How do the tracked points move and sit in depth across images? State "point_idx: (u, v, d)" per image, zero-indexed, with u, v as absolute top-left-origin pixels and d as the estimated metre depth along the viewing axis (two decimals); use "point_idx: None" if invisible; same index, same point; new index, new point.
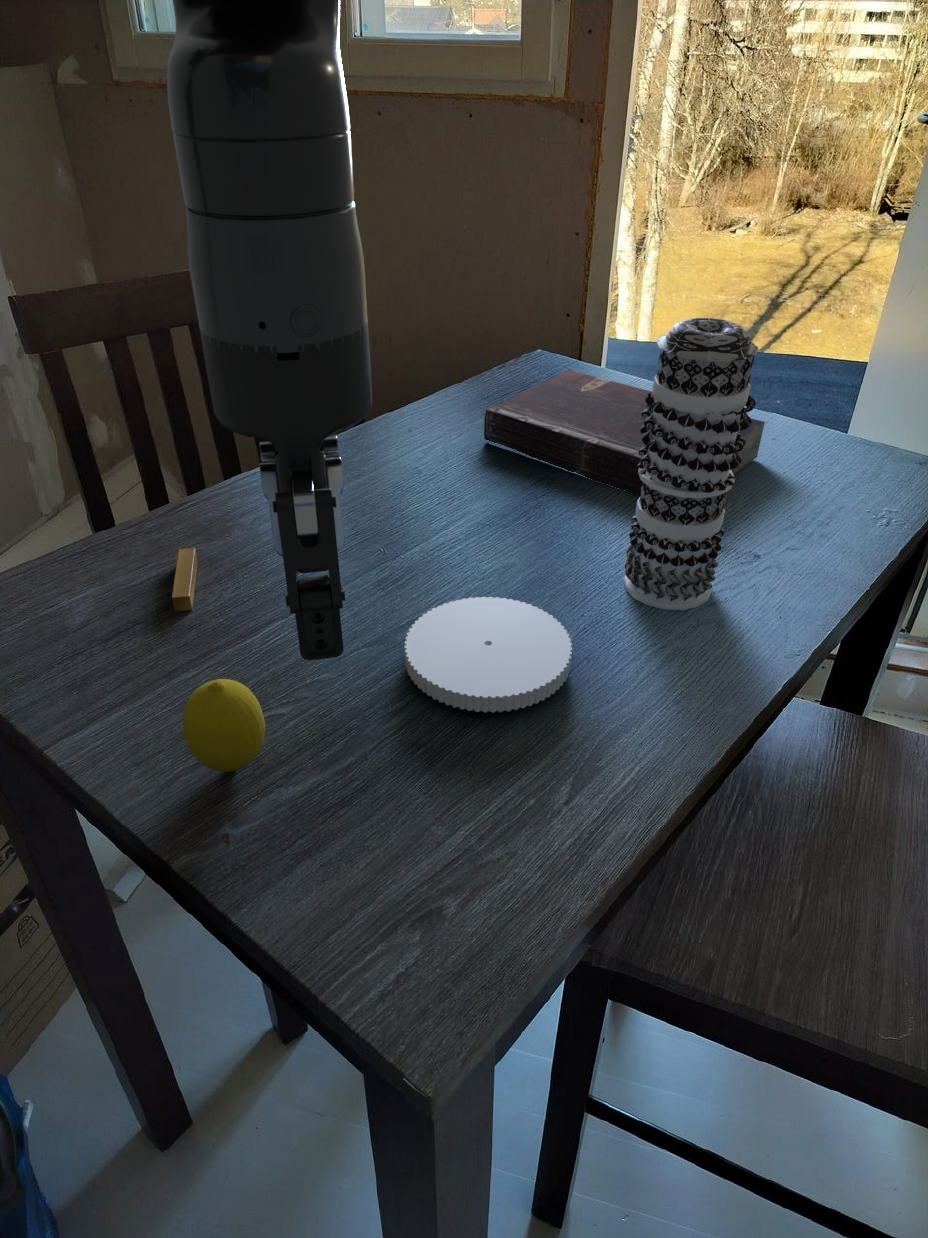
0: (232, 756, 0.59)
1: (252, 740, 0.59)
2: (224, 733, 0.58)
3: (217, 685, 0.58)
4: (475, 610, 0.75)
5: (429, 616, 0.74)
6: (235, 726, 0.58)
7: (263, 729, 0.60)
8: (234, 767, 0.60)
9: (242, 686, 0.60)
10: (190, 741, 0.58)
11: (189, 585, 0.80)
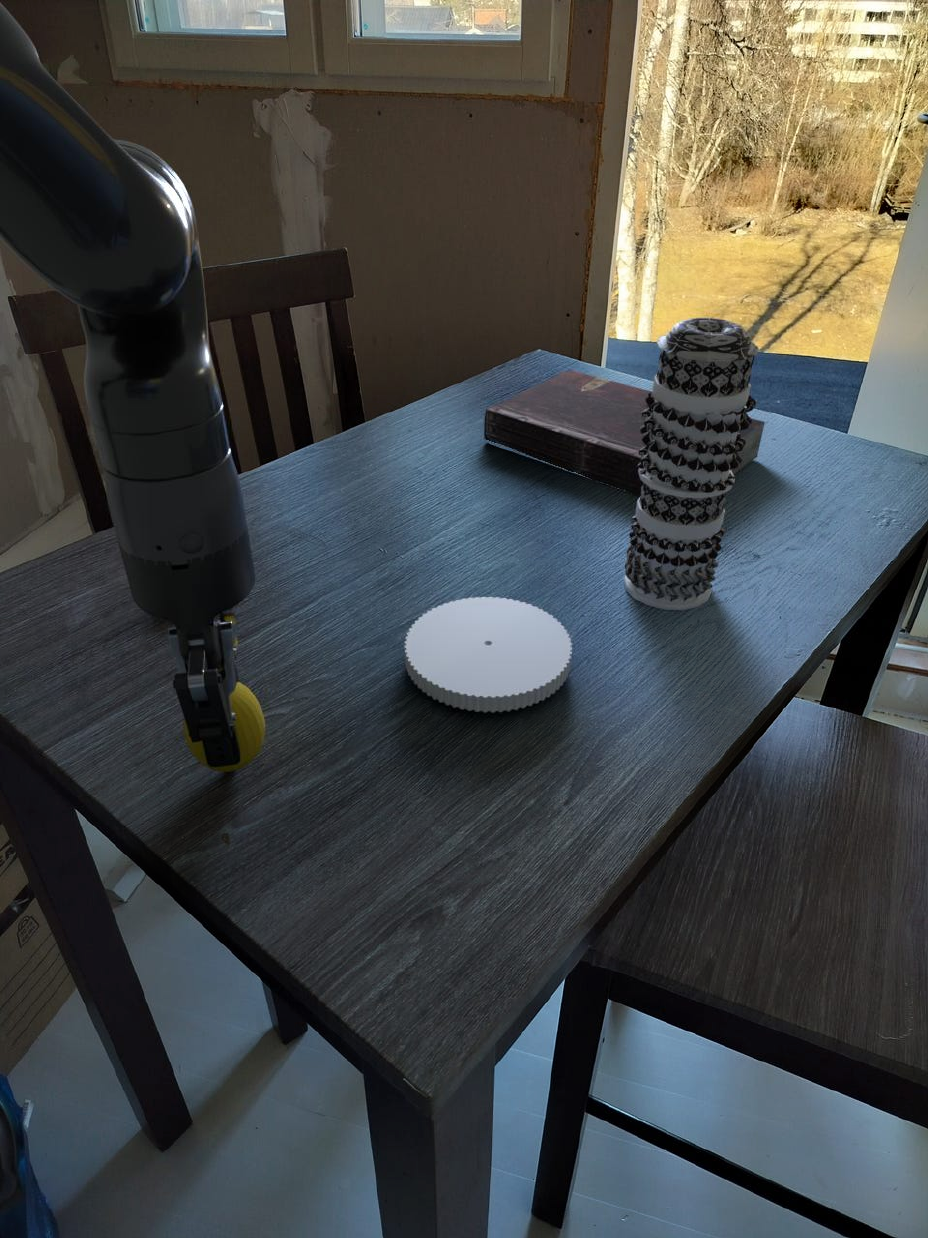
0: None
1: (252, 740, 0.59)
2: None
3: None
4: (475, 610, 0.75)
5: (429, 616, 0.74)
6: (235, 726, 0.58)
7: (263, 729, 0.60)
8: (234, 767, 0.60)
9: (242, 686, 0.60)
10: (190, 741, 0.58)
11: None
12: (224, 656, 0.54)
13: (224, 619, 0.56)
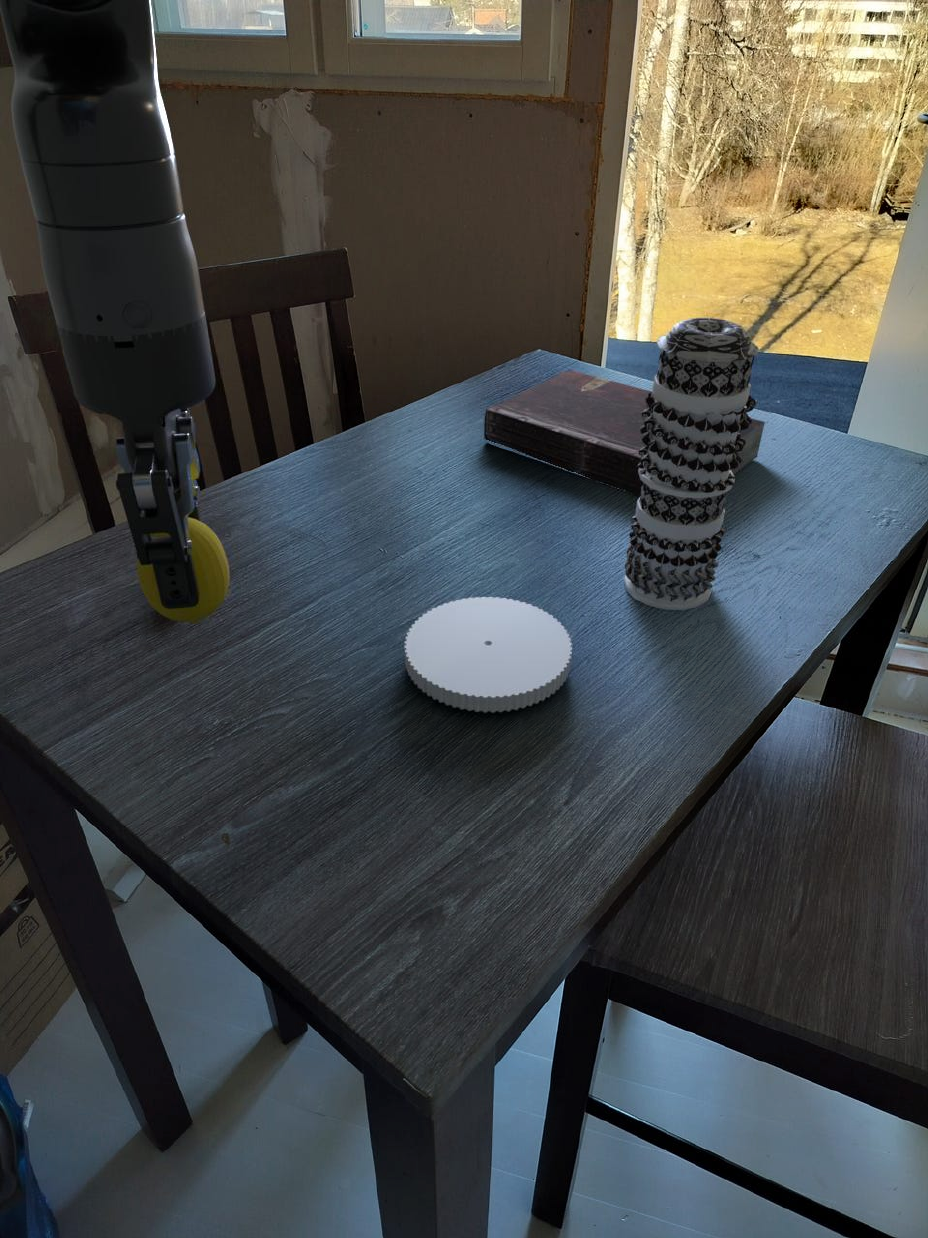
0: None
1: (214, 583, 0.53)
2: None
3: None
4: (475, 610, 0.75)
5: (429, 616, 0.74)
6: (194, 563, 0.52)
7: (227, 575, 0.54)
8: (193, 614, 0.54)
9: (203, 524, 0.54)
10: (144, 581, 0.52)
11: None
12: (179, 471, 0.48)
13: None
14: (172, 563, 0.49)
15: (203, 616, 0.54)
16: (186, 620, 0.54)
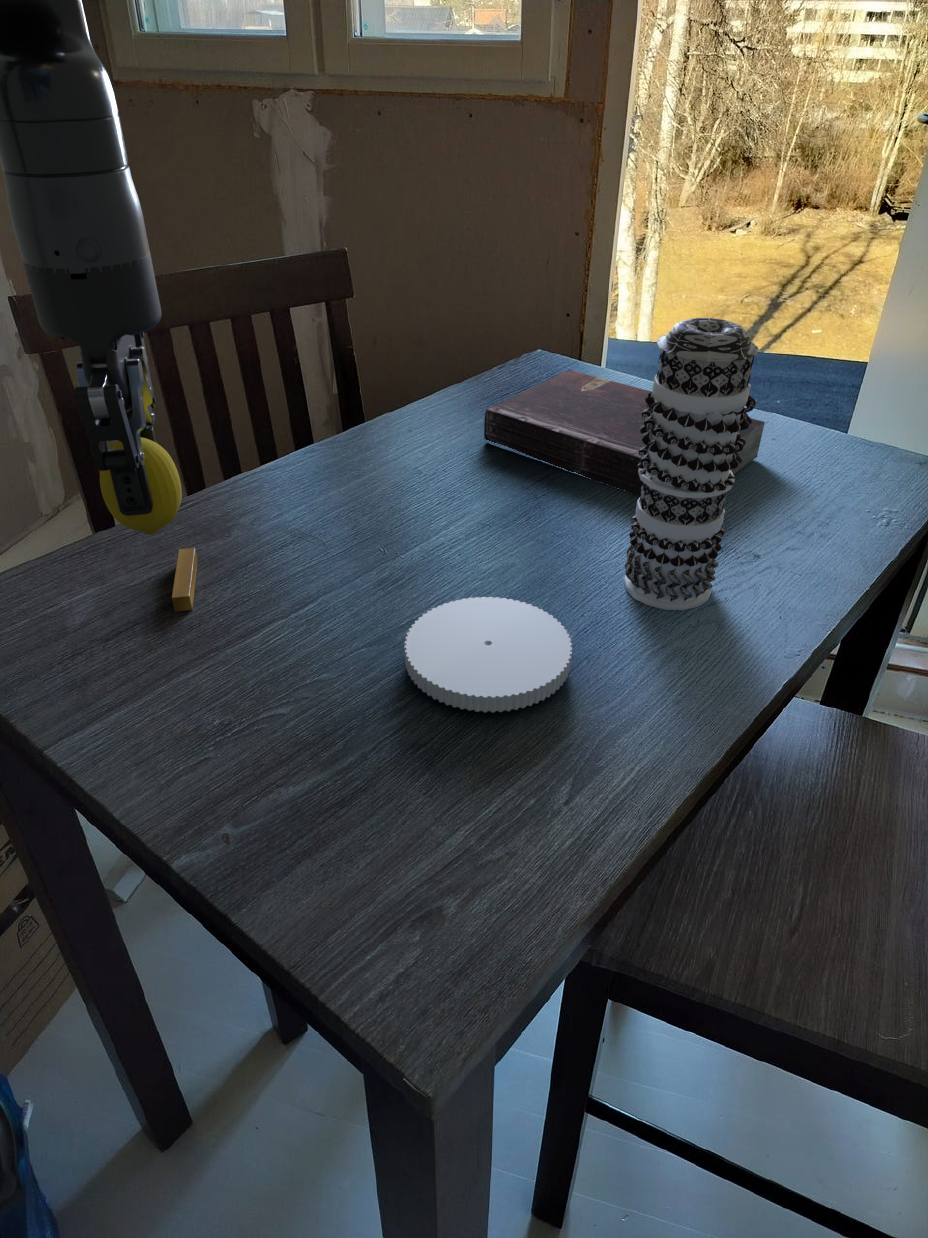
0: None
1: (166, 495, 0.61)
2: None
3: None
4: (475, 610, 0.75)
5: (429, 616, 0.74)
6: (148, 475, 0.60)
7: (178, 489, 0.62)
8: (149, 522, 0.62)
9: (157, 444, 0.62)
10: (105, 492, 0.60)
11: (189, 585, 0.80)
12: (131, 391, 0.56)
13: None
14: (127, 472, 0.57)
15: (158, 525, 0.63)
16: (143, 528, 0.62)
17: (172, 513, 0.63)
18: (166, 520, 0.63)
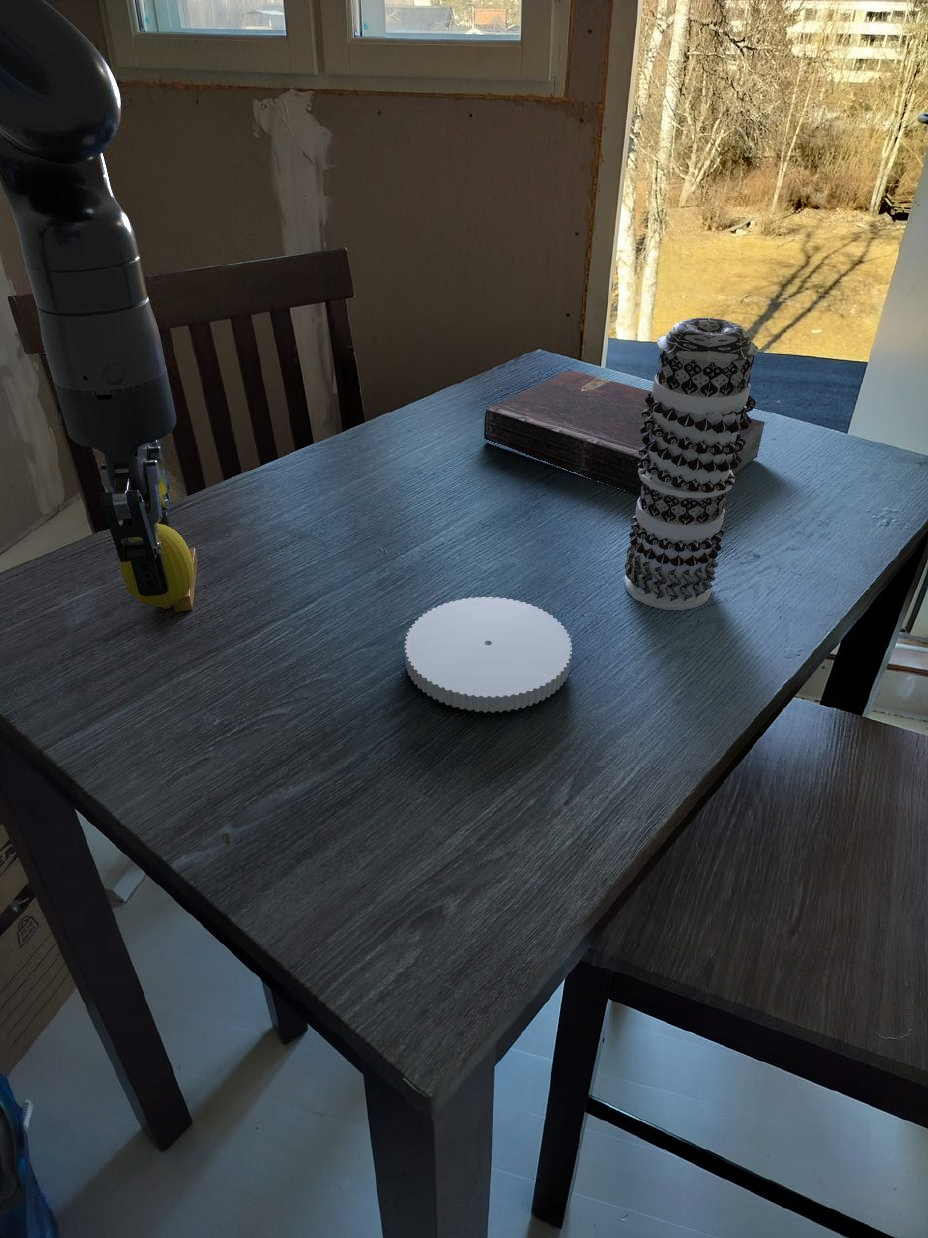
0: None
1: (180, 575, 0.68)
2: None
3: None
4: (475, 610, 0.75)
5: (429, 616, 0.74)
6: (164, 560, 0.66)
7: (191, 569, 0.69)
8: (165, 600, 0.68)
9: (171, 529, 0.68)
10: (125, 574, 0.67)
11: None
12: (149, 489, 0.62)
13: None
14: (145, 560, 0.64)
15: (173, 602, 0.69)
16: (159, 605, 0.69)
17: (185, 591, 0.69)
18: (180, 597, 0.69)
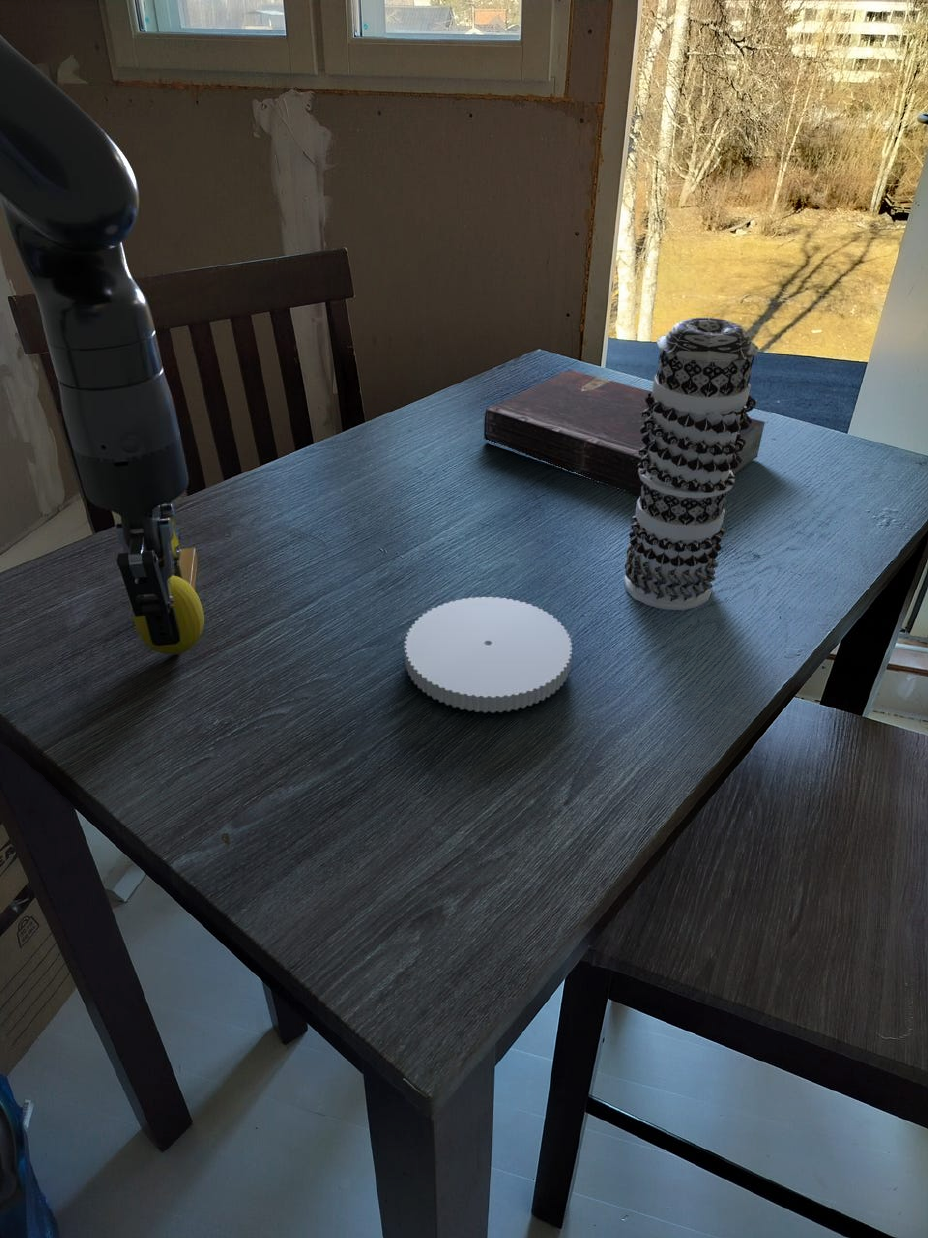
0: None
1: (191, 625, 0.70)
2: None
3: None
4: (475, 610, 0.75)
5: (429, 616, 0.74)
6: (176, 611, 0.69)
7: (201, 618, 0.72)
8: (176, 648, 0.71)
9: (183, 580, 0.71)
10: (139, 624, 0.70)
11: None
12: (163, 546, 0.65)
13: None
14: (159, 613, 0.67)
15: (184, 649, 0.72)
16: (171, 653, 0.71)
17: (196, 639, 0.72)
18: (191, 645, 0.72)
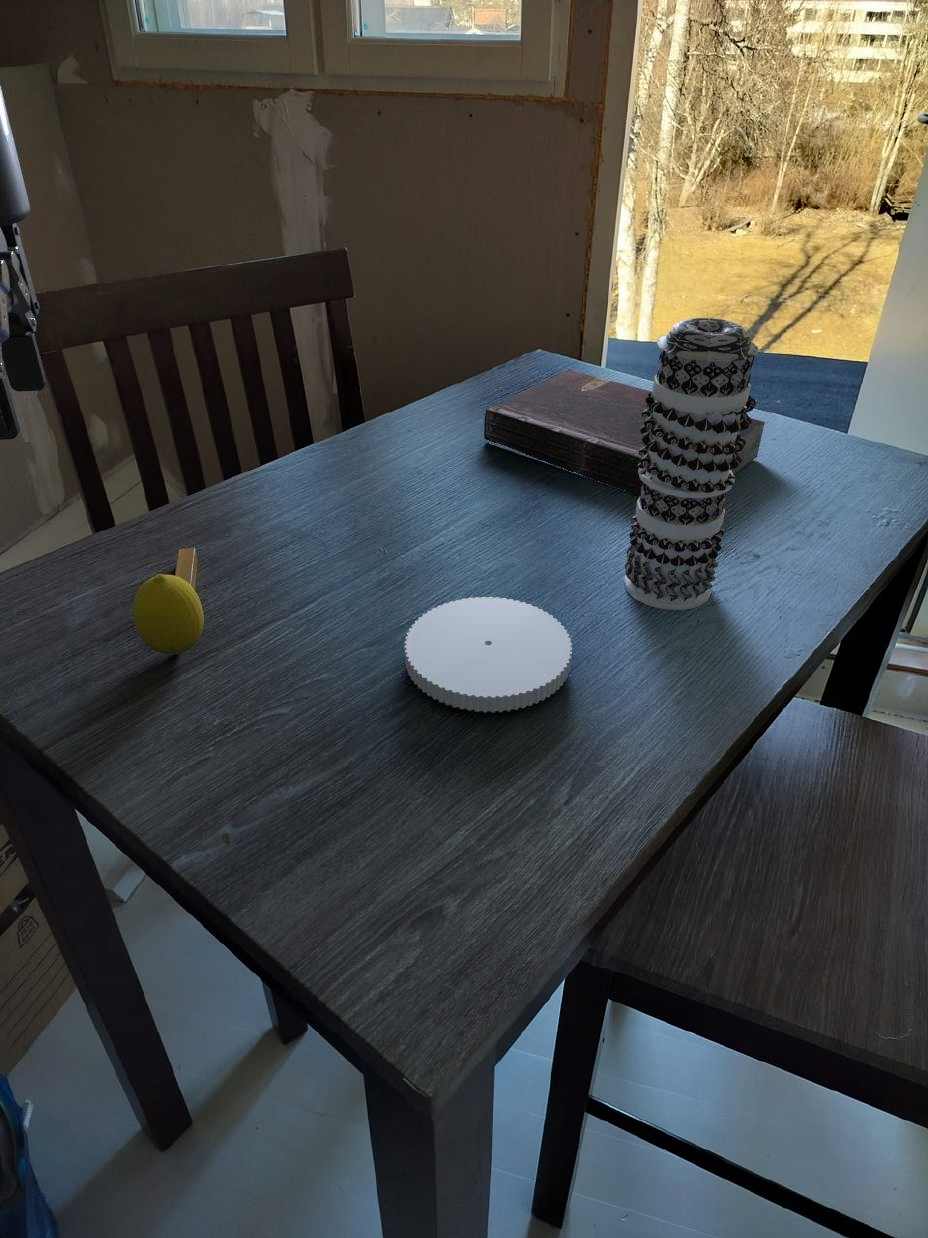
0: (174, 638, 0.70)
1: (191, 625, 0.70)
2: (166, 616, 0.69)
3: (161, 577, 0.69)
4: (475, 610, 0.75)
5: (429, 616, 0.74)
6: (176, 611, 0.69)
7: (201, 618, 0.72)
8: (176, 648, 0.71)
9: (183, 580, 0.71)
10: (138, 624, 0.70)
11: None
12: None
13: None
14: None
15: (184, 649, 0.72)
16: (171, 653, 0.71)
17: (196, 638, 0.72)
18: (191, 645, 0.72)
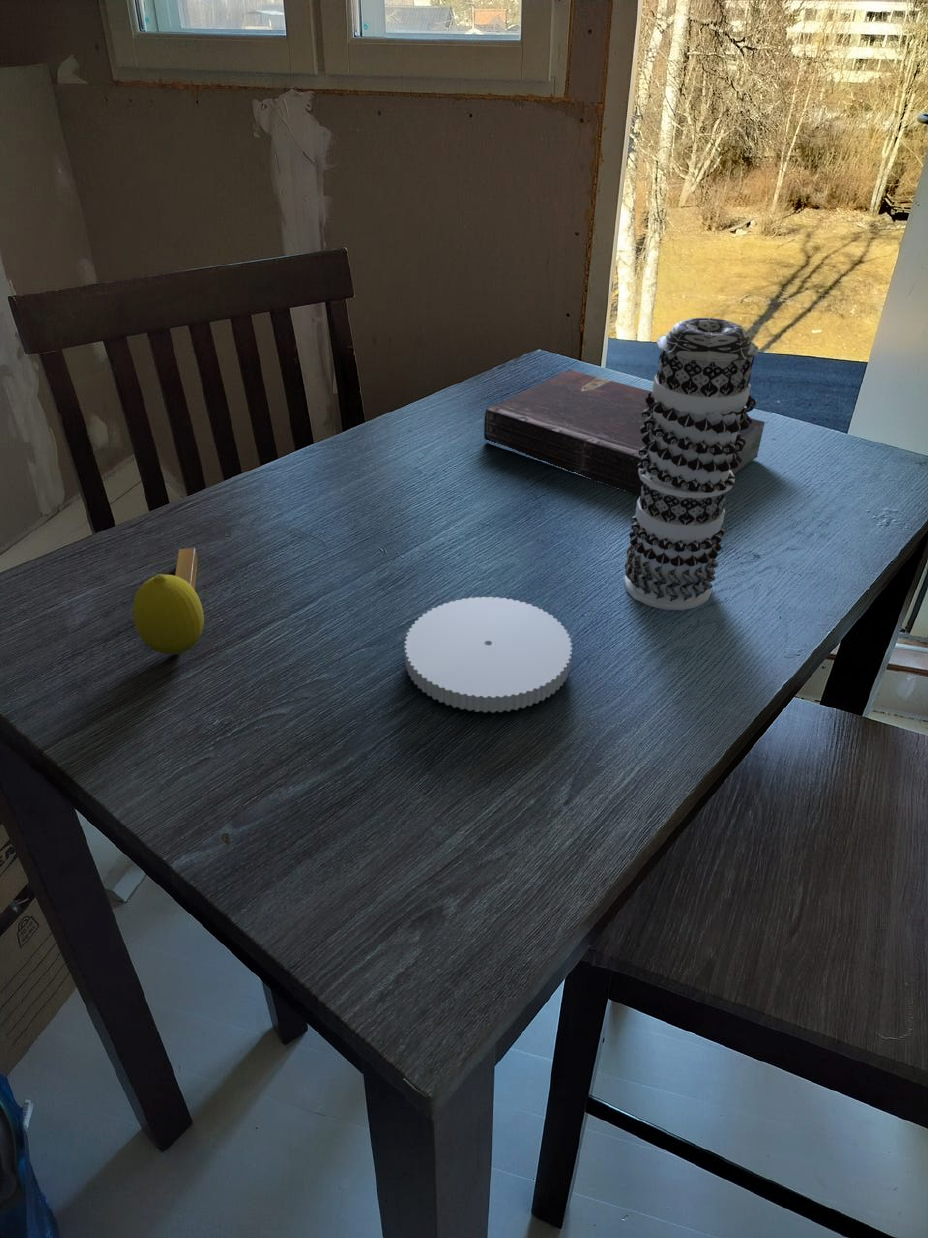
0: (174, 638, 0.70)
1: (191, 625, 0.70)
2: (166, 616, 0.69)
3: (161, 577, 0.69)
4: (475, 610, 0.75)
5: (429, 616, 0.74)
6: (176, 611, 0.69)
7: (201, 618, 0.72)
8: (176, 648, 0.71)
9: (183, 580, 0.71)
10: (138, 624, 0.70)
11: None
12: None
13: None
14: None
15: (184, 649, 0.72)
16: (171, 653, 0.71)
17: (196, 638, 0.72)
18: (191, 645, 0.72)
